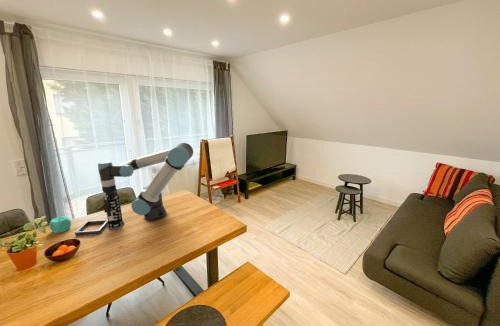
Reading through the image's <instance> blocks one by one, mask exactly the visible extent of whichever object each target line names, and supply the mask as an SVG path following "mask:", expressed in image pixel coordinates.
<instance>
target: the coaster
mask: <svg viewBox="0 0 500 326" xmlns="http://www.w3.org/2000/svg"><path fill="white" fill-rule="evenodd" d="M125 225H126V224H125V221H123V224H122V225H121V226H119V227H117V228H110V227H109V224H108V225H107V226H106V228H107V229H108V230H109V231H110V230H112V231H113V230H114V231H115V230H118V229H120V228H123V226H125Z"/></svg>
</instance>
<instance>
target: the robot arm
mask: <svg viewBox="0 0 500 326" xmlns="http://www.w3.org/2000/svg"><path fill="white" fill-rule="evenodd" d="M193 155H194V149H193V146H191V145H190V144H189V143H187V142H182V143H178V144H176V145H173V146H171V148H169V149H165V150H161V151H157V152H155V153H151V154H147V155H144V156H139V157H136V158H135V157H134V158H131V159H128V161H125V162H123V163H121V164H113V163H112V161H111V160H104V161H100V162H98V164H97V171H98V173H99V179H100V181H99V182H100V184H101V185H100V186H101V188H102V189H101V190H102V192H103V193H105V196H103V203H104V204H103V206H104V208H103V209H104V213H106V212H107V213H106V215H107V214H108V219H109V221H110V220H114V218H113V213H112V211H111V204H109V199H111V200H112V199H113V197H114V196H116V195H118V196H119V194H118V190H117V186H116V185H117V184H116V180H115V177H117V178H118V177H120V178H128V177H129V178H130V177H132V176H133V174H134V171H137V170H139V169H143V168H147V167H148V168H149V167H150V166H154V165H158V164H162V163H164V164H163V166H162V167H161V168H160V169H159V171H158V173H157V174H156V175H155V176H154V178H153V179H152V181H151V182H150V183H149V185H146V186H144V187H143V189H142V191H141V192H140V193H139V195H138V196H137V197H136V198H135V199H134V200H132V203H131V209H132V211H133V212H134V213H135V214H137V215H139V216H143V218H144V220H145V221H151V222H153V221H158V220H161V219H163V218H164V217H166V215H167V210H166V207H165V205H164V204H163V196H162V195H163V194H162V191H164V189H165V187H166V186H167V185H168V184H169V182H170V181H171V180H172V178H173V177H174V175H175V174H176V173H177V172H178V171H181V170H182V169H183V168H184V167H185V166H186V164H187V162H188V161H189V160H190V159H191V158H192V157H193Z"/></svg>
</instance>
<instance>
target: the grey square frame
mask: <svg viewBox="0 0 500 326" xmlns="http://www.w3.org/2000/svg"><path fill="white" fill-rule="evenodd" d="M90 225H91V226H92V225H101V226H100V228H98V229H94V230H93V229H91V230H85V229H86V228H87V227H88V226H90ZM108 225H109V224H108V219H95V220H94V219H93V220H86V221H85V222H84V223H83V224H82V225H80V227H79V228H78V229H77V230H75V232H74V234H75V237H78V236H80V237H81V236H92V235H101V234H102V232H103V231H104V230H105V229H106V228H107V226H108Z"/></svg>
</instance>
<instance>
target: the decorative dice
mask: <svg viewBox="0 0 500 326" xmlns="http://www.w3.org/2000/svg"><path fill="white" fill-rule="evenodd" d="M48 227H49V229H50V230H51V232H53V234H62V233H64V231H65V232H66V230H67V231H68V230H70V228H71V227H72V222H71V219H70V218H69V217H68V216H66V215H65V216H64V215H61V216H57V217H54V218H52V219H51V220H50V222H49V226H48ZM61 232H62V233H61Z"/></svg>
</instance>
